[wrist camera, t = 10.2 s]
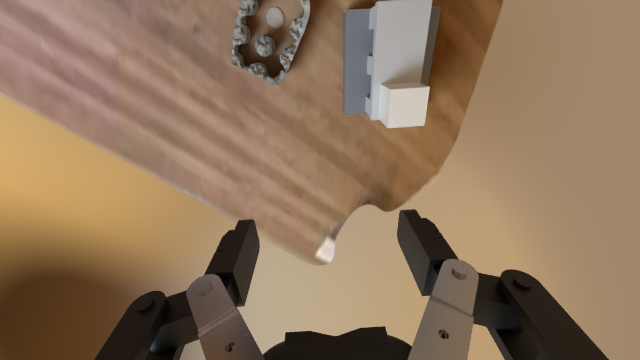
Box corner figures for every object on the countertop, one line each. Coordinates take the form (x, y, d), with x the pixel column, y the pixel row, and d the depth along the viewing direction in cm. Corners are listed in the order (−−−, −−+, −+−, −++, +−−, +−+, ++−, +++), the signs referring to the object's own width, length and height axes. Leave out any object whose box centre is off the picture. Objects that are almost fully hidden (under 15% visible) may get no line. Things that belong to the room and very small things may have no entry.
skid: (369, 7, 28) (378, 1, 24) (417, 4, 28) (432, -2, 24) (365, 112, 33) (371, 120, 30) (404, 110, 33) (415, 117, 30)
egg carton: (258, -32, 28) (250, -45, 24) (316, 4, 30) (317, -3, 26) (230, 59, 32) (220, 60, 29) (282, 86, 34) (279, 90, 31)
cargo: (380, 84, 28) (390, 89, 24) (415, 82, 28) (429, 86, 24) (378, 118, 30) (387, 128, 26) (411, 116, 30) (424, 125, 26)
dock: (343, 11, 30) (346, 8, 28) (432, 8, 30) (442, 4, 28) (342, 110, 36) (344, 114, 34) (417, 107, 36) (424, 111, 34)
